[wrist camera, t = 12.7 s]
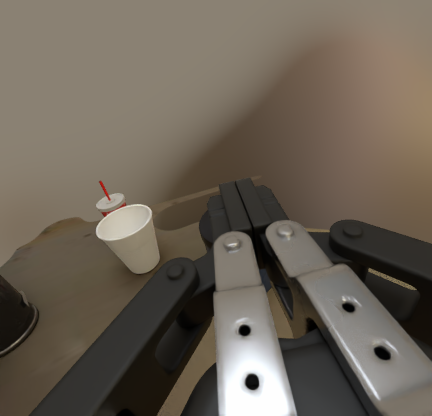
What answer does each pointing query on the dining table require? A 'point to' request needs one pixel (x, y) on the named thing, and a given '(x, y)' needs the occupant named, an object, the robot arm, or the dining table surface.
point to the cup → (131, 237)
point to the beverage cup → (110, 202)
